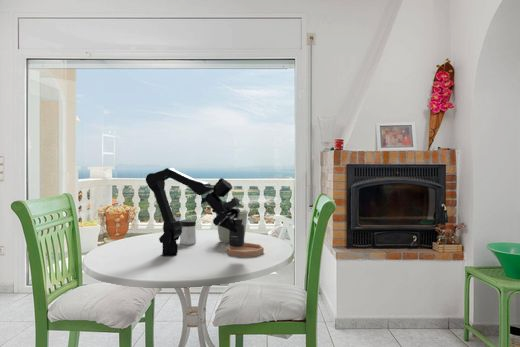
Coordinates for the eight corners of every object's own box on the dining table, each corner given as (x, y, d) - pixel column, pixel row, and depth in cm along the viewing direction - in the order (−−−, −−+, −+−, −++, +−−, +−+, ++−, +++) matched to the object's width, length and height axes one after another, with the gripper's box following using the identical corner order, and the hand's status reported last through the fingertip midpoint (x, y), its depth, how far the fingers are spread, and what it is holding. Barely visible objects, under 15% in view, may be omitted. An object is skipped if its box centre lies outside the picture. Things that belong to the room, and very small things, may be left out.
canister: (222, 237, 209) (222, 200, 208) (252, 239, 204) (252, 201, 203) (209, 244, 191) (209, 204, 190) (242, 246, 186) (242, 205, 186)
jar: (183, 245, 189) (182, 222, 188) (177, 242, 195) (177, 220, 195) (199, 243, 194) (199, 221, 193) (193, 240, 200) (192, 218, 200)
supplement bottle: (231, 247, 156) (231, 219, 155) (227, 244, 162) (227, 217, 162) (246, 246, 158) (246, 219, 158) (241, 243, 165) (242, 216, 164)
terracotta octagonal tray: (230, 257, 165) (230, 252, 165) (224, 249, 181) (224, 244, 181) (266, 255, 169) (266, 250, 169) (257, 247, 185) (257, 242, 185)
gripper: (220, 193, 152) (244, 221, 149) (236, 190, 169) (258, 215, 167) (202, 211, 154) (226, 239, 151) (220, 206, 172) (242, 231, 169)
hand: (239, 230), depth 160 cm, fingers closed on supplement bottle, 7 cm apart
